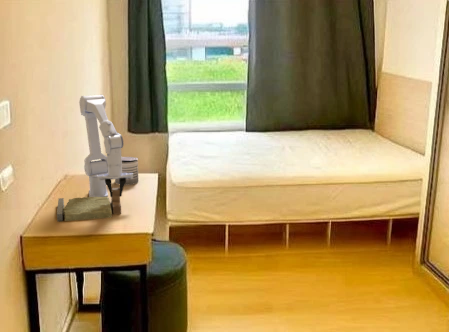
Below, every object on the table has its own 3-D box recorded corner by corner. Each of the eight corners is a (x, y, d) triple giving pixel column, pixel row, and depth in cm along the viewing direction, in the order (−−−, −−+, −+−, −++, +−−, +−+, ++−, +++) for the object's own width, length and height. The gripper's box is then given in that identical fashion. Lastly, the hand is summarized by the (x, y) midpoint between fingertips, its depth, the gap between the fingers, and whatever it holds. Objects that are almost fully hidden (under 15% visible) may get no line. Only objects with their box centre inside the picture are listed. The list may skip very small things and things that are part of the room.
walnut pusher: (111, 201, 238) (111, 183, 236) (118, 201, 239) (118, 183, 237) (113, 213, 223) (113, 194, 221) (121, 213, 224) (120, 194, 222)
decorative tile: (109, 202, 238) (108, 194, 237) (112, 218, 220) (111, 210, 219) (64, 206, 234) (63, 197, 233) (63, 222, 215) (62, 213, 214)
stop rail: (59, 205, 233) (58, 198, 232) (63, 204, 233) (63, 198, 233) (57, 221, 214) (56, 214, 213) (62, 221, 215) (62, 213, 214)
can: (109, 182, 266) (108, 158, 263) (126, 177, 275) (125, 153, 272) (128, 186, 260) (127, 161, 257) (143, 180, 269) (143, 156, 266)
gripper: (96, 167, 221) (98, 200, 224) (133, 165, 224) (134, 197, 228) (96, 163, 227) (97, 195, 231) (131, 161, 231) (133, 192, 234)
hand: (116, 196), depth 230 cm, fingers closed on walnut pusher, 3 cm apart
